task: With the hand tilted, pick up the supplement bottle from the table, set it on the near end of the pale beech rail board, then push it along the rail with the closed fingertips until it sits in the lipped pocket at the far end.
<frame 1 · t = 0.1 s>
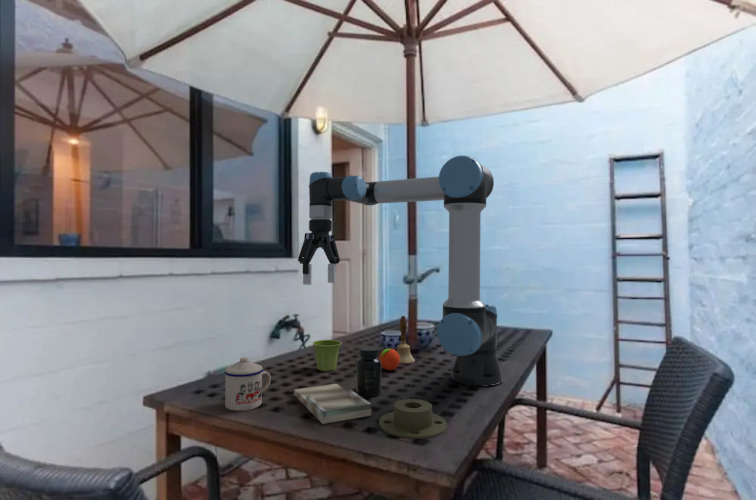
hand: (319, 283, 143), 28 cm above the table, tool pointing down, fingers open, 13 cm apart
clementine: (388, 370, 141), on the table
hand bell: (403, 361, 154), on the table
teacup with lid: (248, 404, 108), on the table
rail board: (330, 404, 108), on the table
supplement bottle: (368, 394, 117), on the table
flange: (412, 427, 96), on the table
plant pot: (326, 369, 142), on the table
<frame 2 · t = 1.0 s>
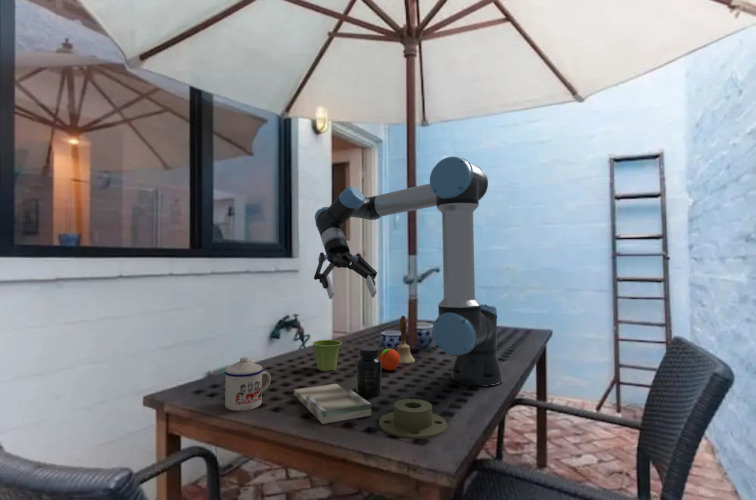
hand: (353, 295, 127), 26 cm above the table, tool tilted 45°, fingers open, 13 cm apart
nothing on the table moved.
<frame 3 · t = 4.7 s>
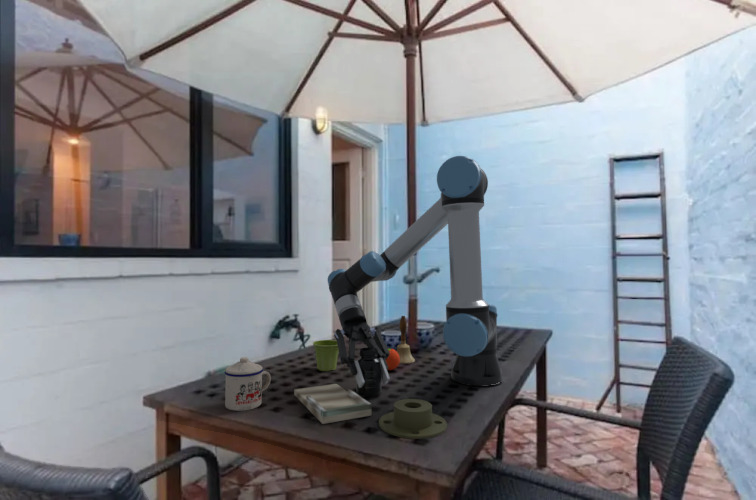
hand: (374, 383, 114), 4 cm above the table, tool tilted 45°, fingers closed on supplement bottle, 7 cm apart
supplement bottle: (368, 394, 117), on the table, touching gripper
everything else where it was.
when the fingers open (6 cm above the table, at t = 8.8 s): supplement bottle stays where it is, resting on rail board.
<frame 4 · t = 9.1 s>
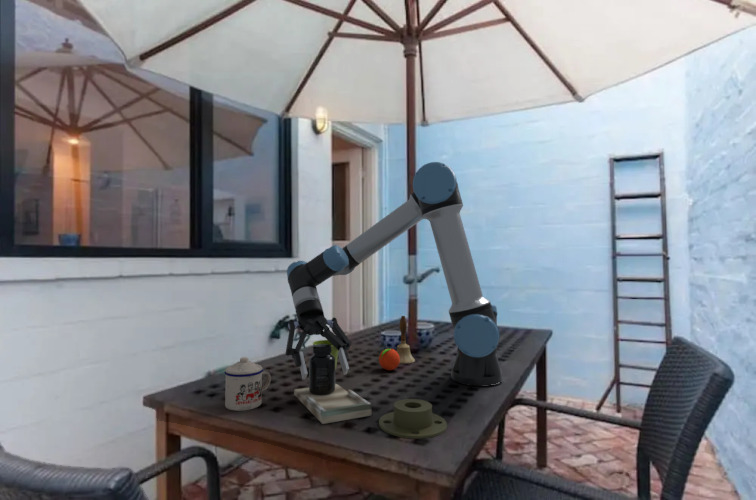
hand: (326, 374, 111), 7 cm above the table, tool tilted 45°, fingers open, 10 cm apart
supplement bottle: (321, 392, 113), point 1 cm above the table, touching rail board
everything else where it was.
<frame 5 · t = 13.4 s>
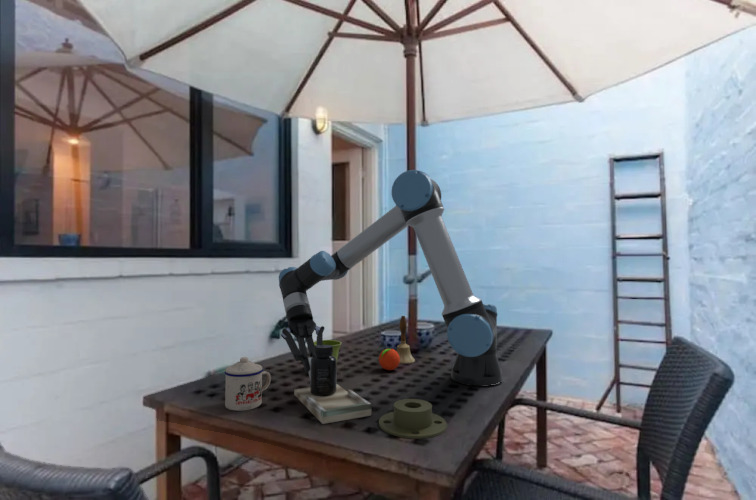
hand: (314, 380, 116), 3 cm above the table, tool tilted 45°, fingers closed
supplement bottle: (323, 393, 113), point 1 cm above the table, touching gripper, rail board
everything else where it was.
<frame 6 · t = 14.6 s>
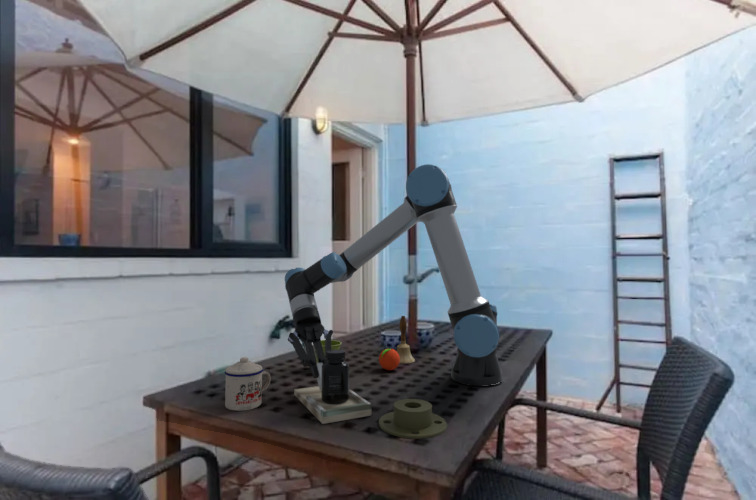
hand: (324, 387, 110), 3 cm above the table, tool tilted 45°, fingers closed
supplement bottle: (335, 400, 107), point 1 cm above the table, touching gripper
everything else where it was.
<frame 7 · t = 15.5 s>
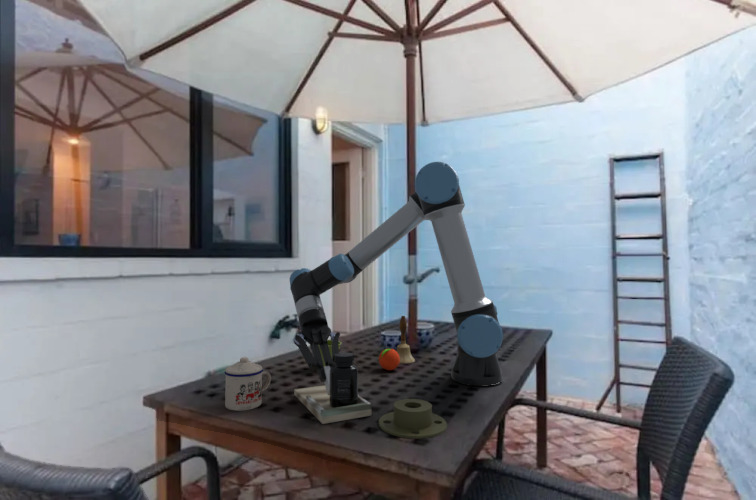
hand: (331, 392, 107), 3 cm above the table, tool tilted 45°, fingers closed
supplement bottle: (343, 405, 104), point 1 cm above the table, touching gripper
everything else where it was.
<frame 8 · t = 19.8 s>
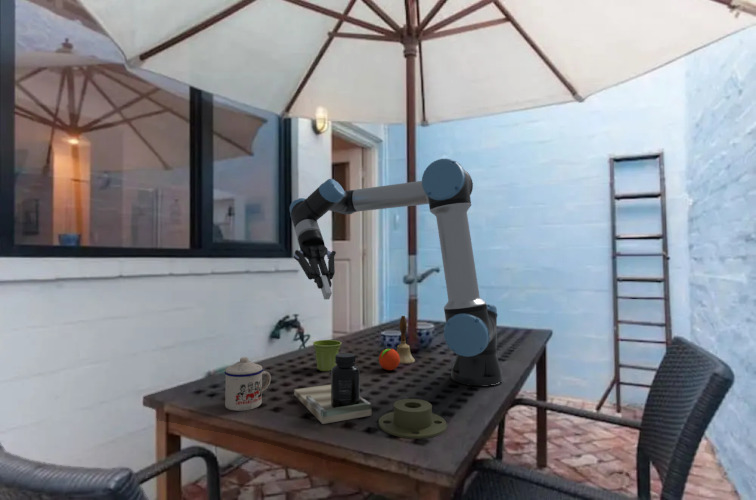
hand: (327, 296, 119), 26 cm above the table, tool tilted 45°, fingers closed
supplement bottle: (345, 406, 103), point 1 cm above the table, touching rail board
everything else where it was.
at the end: supplement bottle inside the target area (1.8 cm from its centre), point 1.3 cm above the table; supplement bottle tilted 0° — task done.
